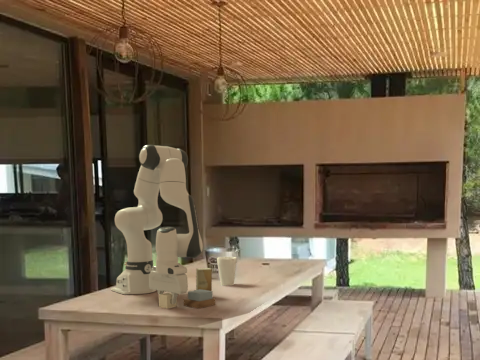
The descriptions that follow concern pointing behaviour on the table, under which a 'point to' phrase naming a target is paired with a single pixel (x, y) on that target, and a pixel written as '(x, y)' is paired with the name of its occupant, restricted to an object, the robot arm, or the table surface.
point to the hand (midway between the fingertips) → (167, 302)
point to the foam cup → (227, 270)
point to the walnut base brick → (199, 303)
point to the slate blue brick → (200, 295)
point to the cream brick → (166, 301)
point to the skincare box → (204, 279)
